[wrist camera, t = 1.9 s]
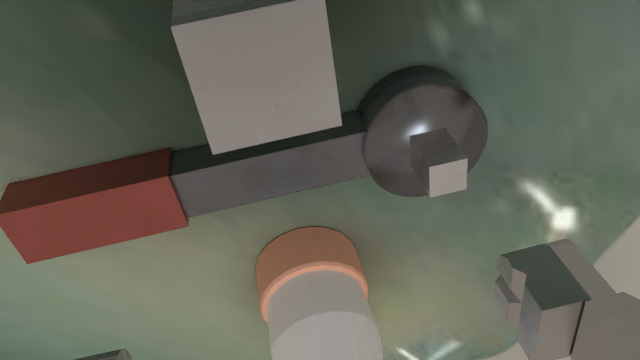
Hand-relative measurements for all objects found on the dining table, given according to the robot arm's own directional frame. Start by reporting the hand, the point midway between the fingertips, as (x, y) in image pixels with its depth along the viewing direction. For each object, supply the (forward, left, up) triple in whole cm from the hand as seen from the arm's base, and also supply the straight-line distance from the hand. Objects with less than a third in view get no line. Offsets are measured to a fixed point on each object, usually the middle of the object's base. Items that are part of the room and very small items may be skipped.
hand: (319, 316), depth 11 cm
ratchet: (+8, -2, -19) cm, 20 cm away
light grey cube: (0, 0, -19) cm, 19 cm away
